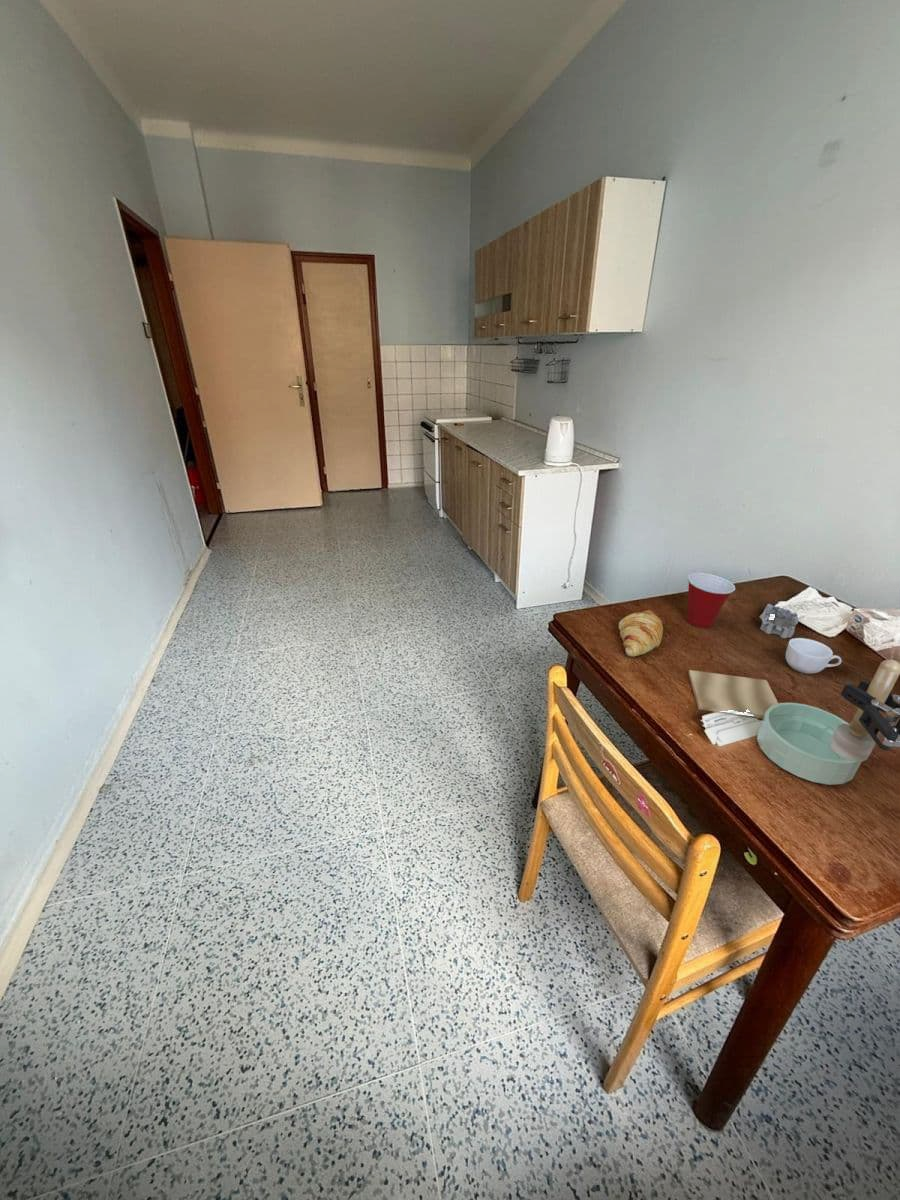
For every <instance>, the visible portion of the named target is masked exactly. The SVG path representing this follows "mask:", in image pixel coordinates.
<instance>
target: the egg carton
mask: <svg viewBox="0 0 900 1200" xmlns="http://www.w3.org/2000/svg"><path fill="white" fill-rule="evenodd" d="M770 614H775V618H774V620H769V617H770ZM760 617H761V620H762V622H761V625H760V627H759V630H761V631H762V632H764V633H765V634H768V635H771V634H773V635H779V637H780V638H781V639H787V638H792V637H793V635H794V634H795V631H796V627H797V625H798V623H799V621H800V620H799V619H800V618H799V617H798V613H797V612H795V611H794V612H791V610H790V609H785V608H783V607H780V606H778V605H777V606H775V605H773V604H771V603H767V605H766V606H765V608H764V610H763V612H762V614H761V616H760Z"/></svg>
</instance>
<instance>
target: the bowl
mask: <svg viewBox="0 0 900 1200" xmlns="http://www.w3.org/2000/svg"><path fill="white" fill-rule="evenodd" d="M761 720H762V721H761V723H760V725H759V728H758V730H757V735H756V741H757V743H758V746H759V748H760V750H761V751H762V752H763V753H764V754H765V755H766V757H767V759H769V760H770V761H771V762H773V763H774V764H776V765H777V766H778V767H780V768H781V769H783V770H784V771H786V772H788V773H791V774H792V775H794V776H796V777H797V778H801V779H803V780H807V781H809V782H812V783H817V784H822V785H829V786H831V785H843V784H846V783H849V782H850V781H852V780H853V779H854V777H856V774H857V772H858V770H859V768H860V766H861V765H862V763H863V761H861V762H858V761H852V760H849V759H846V758H844V757H842V756H840V755H838V754H837V753H836V752H834V751H833V750H832V748H831V747H830V744H829V742H830V740H831V738H832V736H833V734H834V732H835V730H836V728H837V726H839V725H841V724H849V725H850V722H849V723H848V722H847V721H846V720H845V719H843V718H841V717H839V716H838V715H836V714H833V713H831V712H829V711H826V710H825V709H823V708H820V707H816V706H812V705H810V704H805V703H798V702H778V704H776V705H773V706H771V707H770V708H769V709H768V710H767V711H766V712H765V715H764V717H763V719H761Z"/></svg>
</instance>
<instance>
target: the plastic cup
mask: <svg viewBox="0 0 900 1200" xmlns="http://www.w3.org/2000/svg"><path fill="white" fill-rule="evenodd" d="M687 582H688V595H687V615H686V616H687V617H686V619H687V622H688V624H690V625H692V626H694V627H696V628H702V629H707V628H710V627H712V625H713V624H714V623H715V620H716V618H717V616H718V615H719V614H720V611H721V610H722V608H723V606H724V604H725V603H726V601H727V599H728V598H729V596H730V595H731V594H732V593H734V592H735V590H736V586H735V584H734V583H732V581H731V580H729V579H726V578H724V577H722V576H720V575H716V574H712V573H707V572H692V573H690V574H688V576H687Z"/></svg>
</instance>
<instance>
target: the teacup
mask: <svg viewBox="0 0 900 1200" xmlns="http://www.w3.org/2000/svg"><path fill="white" fill-rule="evenodd" d="M834 659H838V661H837V662H836V663H829V662H830V661H832V660H834ZM785 660H786V663H787V664H788V666H789V667H791V668H792V670H794V671H796V672H799V673H801V674H807V675H810V674H811V675H812V674H818V673H819V672H822V671H823V670H824V669H825V668H832V667H837V666H840V665H841V664H842V658H841V657H840V656H839V655H836V654H834V652H833V650H832V648H830V647H829V646H828V645H826V644H824V643H822V642H821V641H817V640H814V639H811V638H804V637H795V638H792V639H789V641H788V644H787V647H786V651H785Z"/></svg>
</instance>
